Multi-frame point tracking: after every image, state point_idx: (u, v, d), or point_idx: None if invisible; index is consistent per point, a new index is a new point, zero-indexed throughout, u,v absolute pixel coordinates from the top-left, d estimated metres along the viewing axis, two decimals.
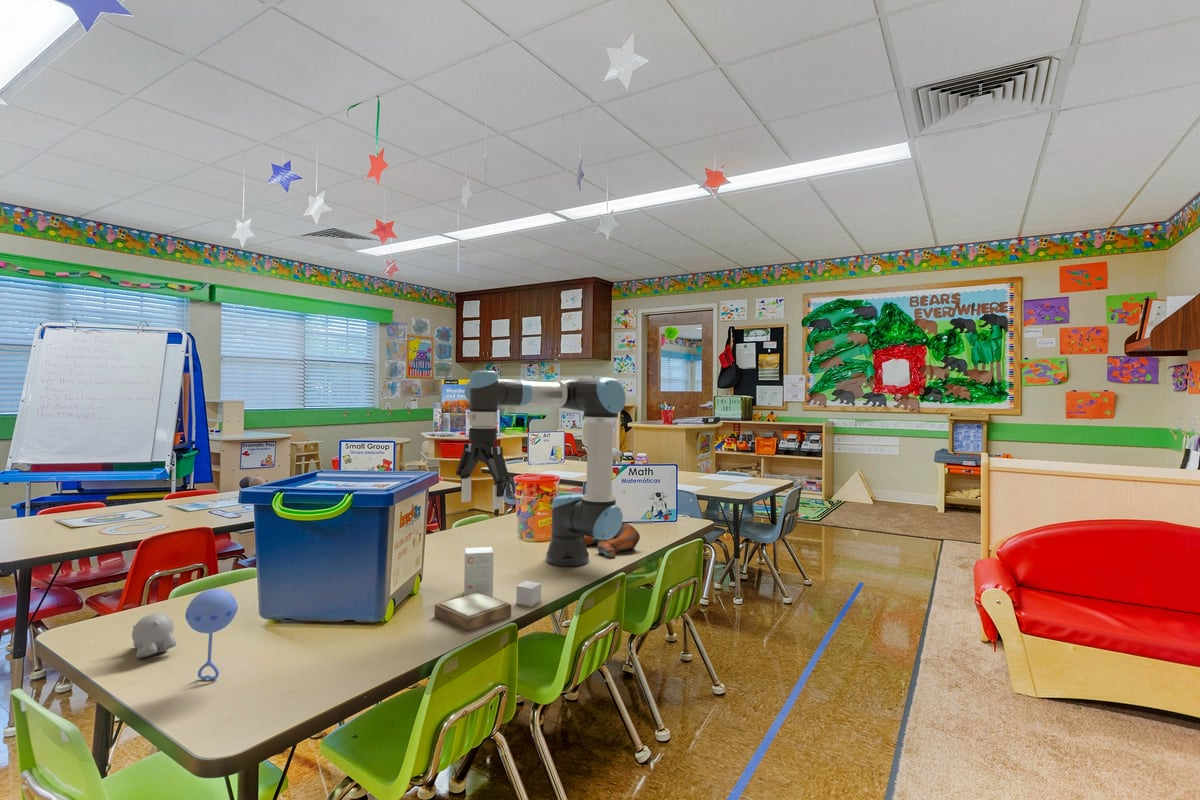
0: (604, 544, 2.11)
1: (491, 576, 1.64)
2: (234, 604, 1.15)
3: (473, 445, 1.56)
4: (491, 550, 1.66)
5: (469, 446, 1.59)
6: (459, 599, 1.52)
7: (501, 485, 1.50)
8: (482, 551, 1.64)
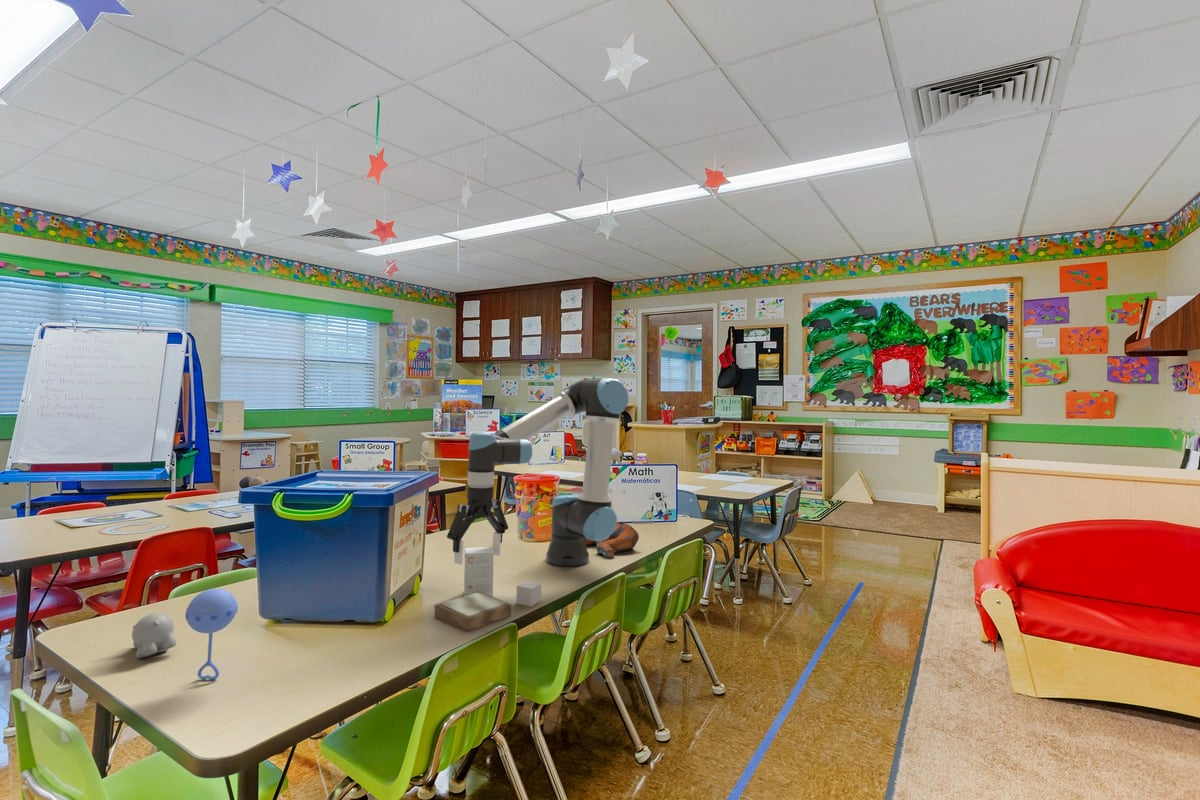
0: (603, 544, 2.11)
1: (491, 576, 1.64)
2: (234, 604, 1.15)
3: None
4: (491, 550, 1.66)
5: None
6: (459, 599, 1.52)
7: (454, 541, 1.59)
8: (482, 551, 1.64)
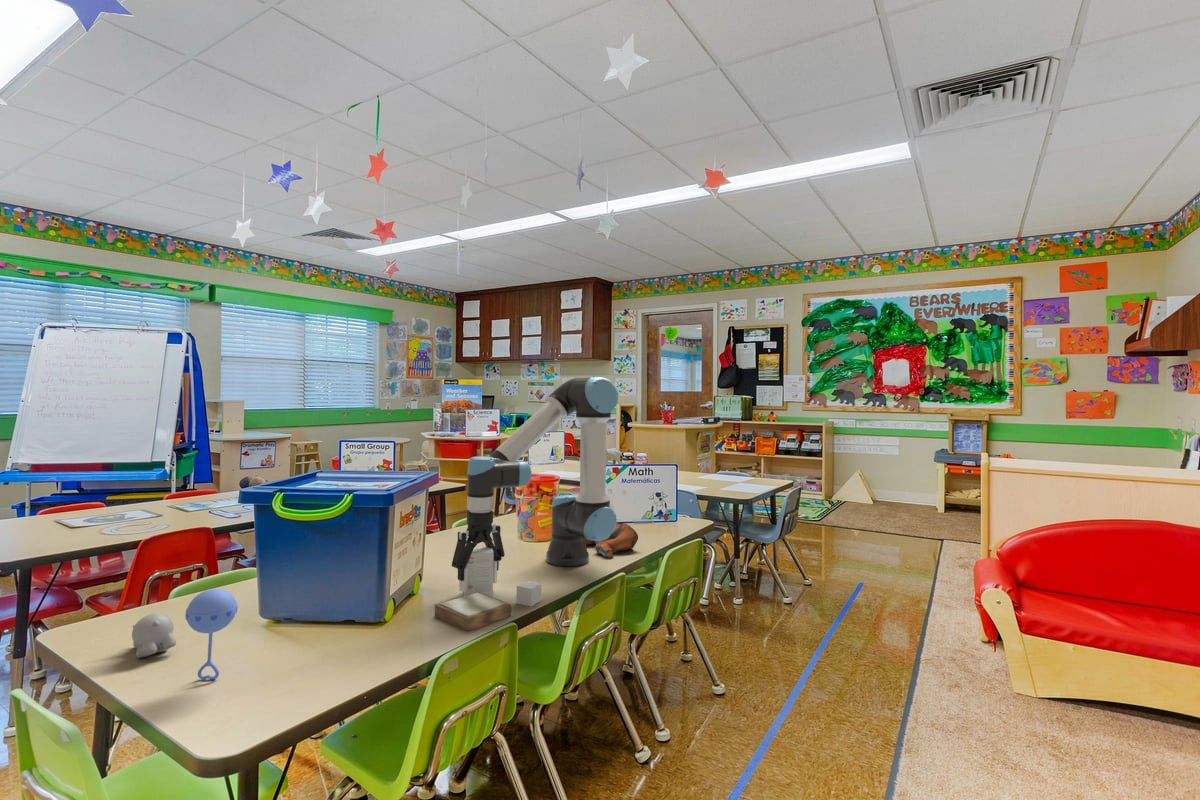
0: (602, 544, 2.11)
1: (491, 576, 1.64)
2: (234, 604, 1.15)
3: None
4: (491, 550, 1.66)
5: None
6: (459, 599, 1.52)
7: (458, 569, 1.61)
8: (482, 551, 1.64)
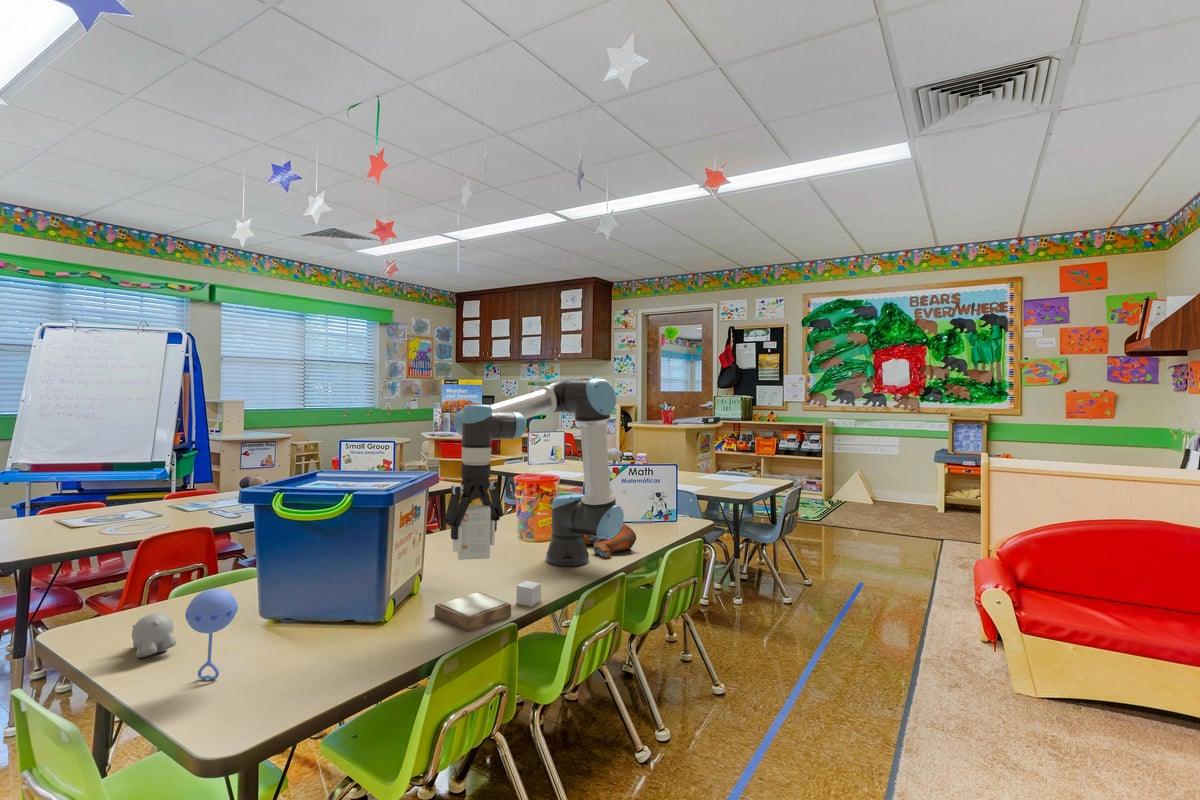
0: (600, 544, 2.10)
1: (488, 535, 1.48)
2: (234, 604, 1.15)
3: None
4: (488, 507, 1.50)
5: None
6: (459, 599, 1.52)
7: (452, 527, 1.45)
8: (478, 508, 1.48)
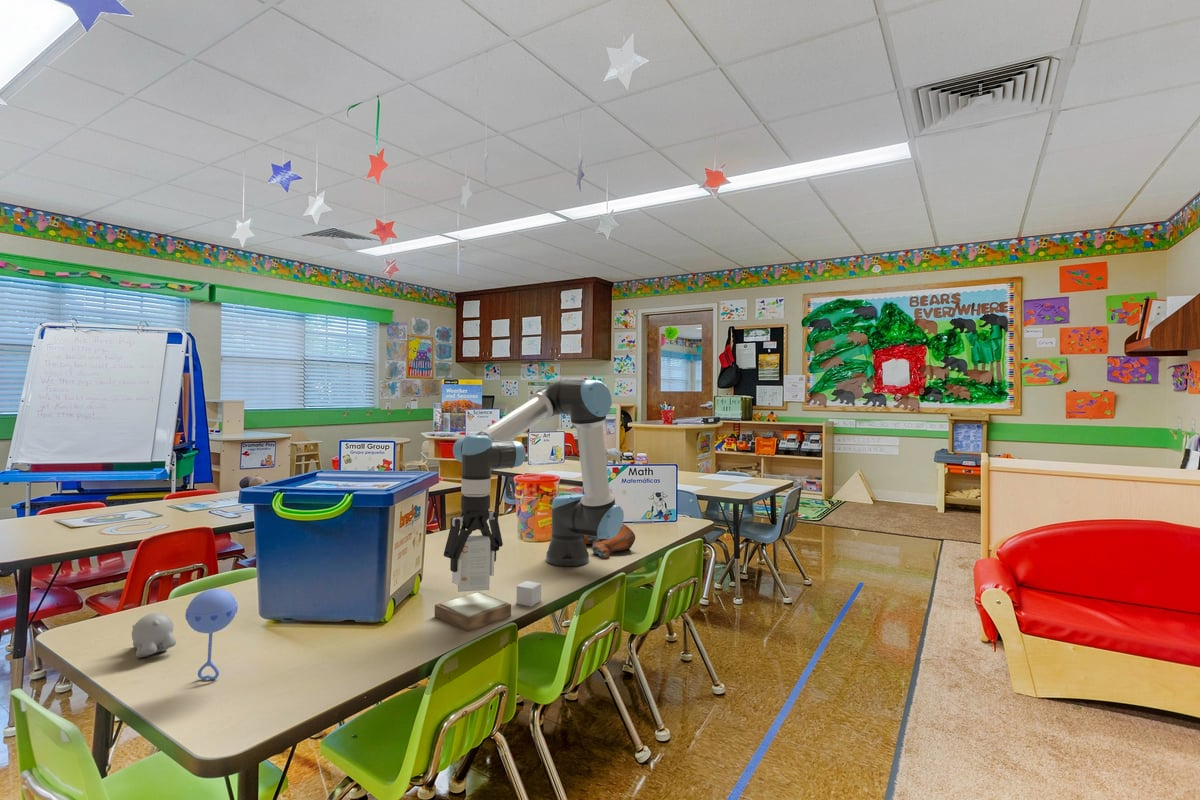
0: (599, 544, 2.10)
1: (488, 567, 1.48)
2: (234, 604, 1.15)
3: None
4: (488, 538, 1.49)
5: None
6: (459, 599, 1.52)
7: (451, 559, 1.44)
8: (478, 539, 1.48)
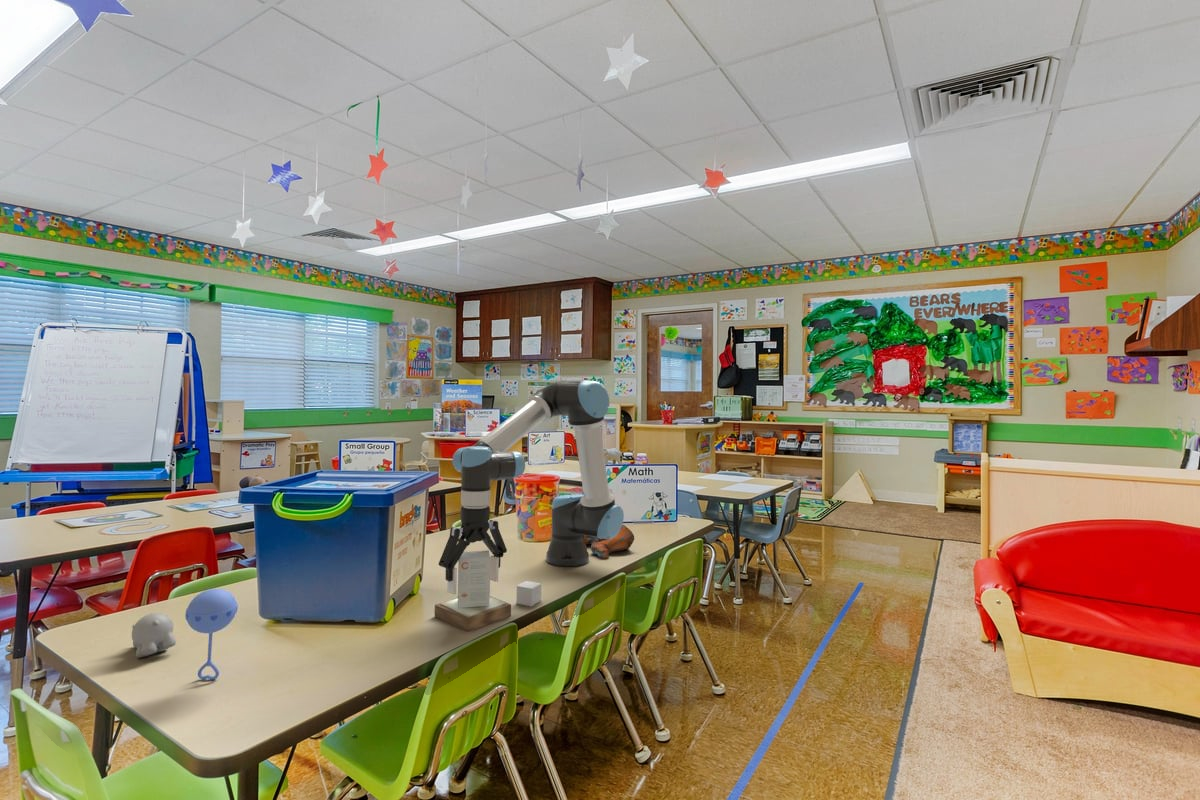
0: (598, 545, 2.10)
1: (488, 583, 1.48)
2: (234, 604, 1.15)
3: None
4: (488, 554, 1.49)
5: None
6: None
7: (446, 569, 1.43)
8: (478, 555, 1.48)
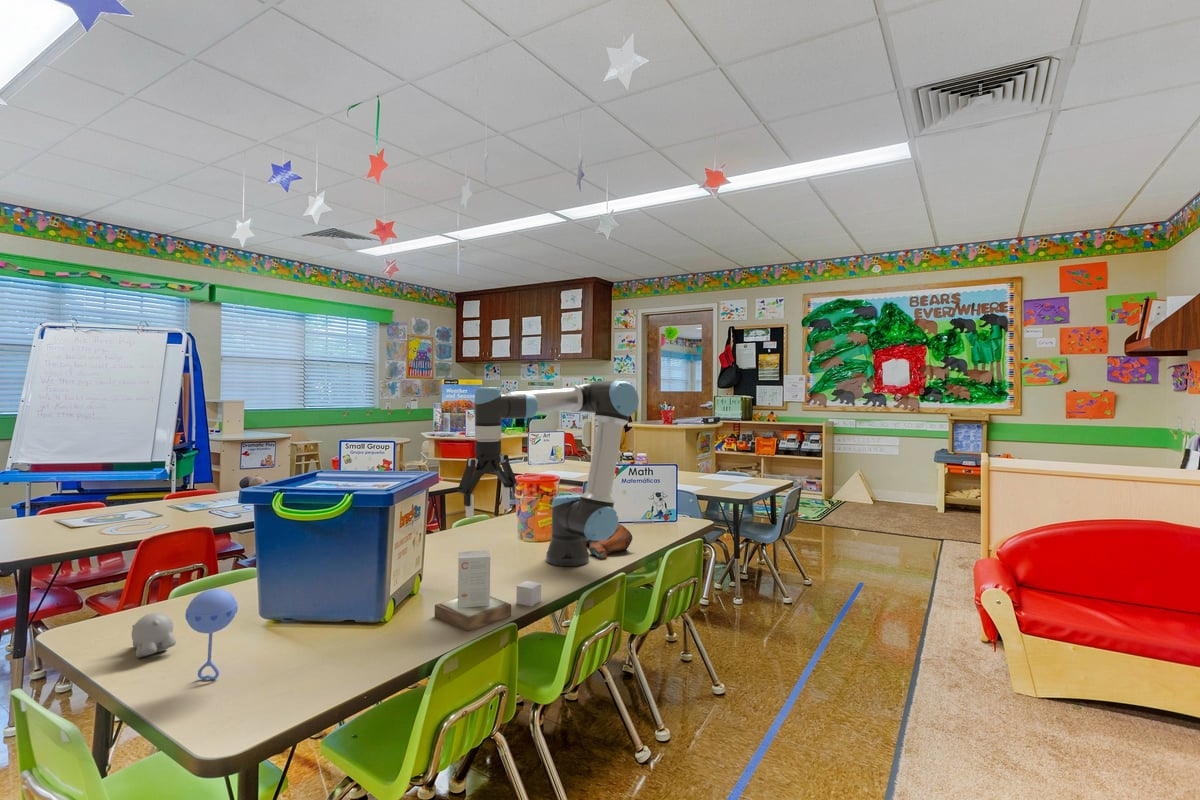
0: (596, 545, 2.10)
1: (488, 583, 1.48)
2: (234, 604, 1.15)
3: None
4: (488, 554, 1.49)
5: None
6: None
7: (464, 495, 1.59)
8: (478, 555, 1.48)
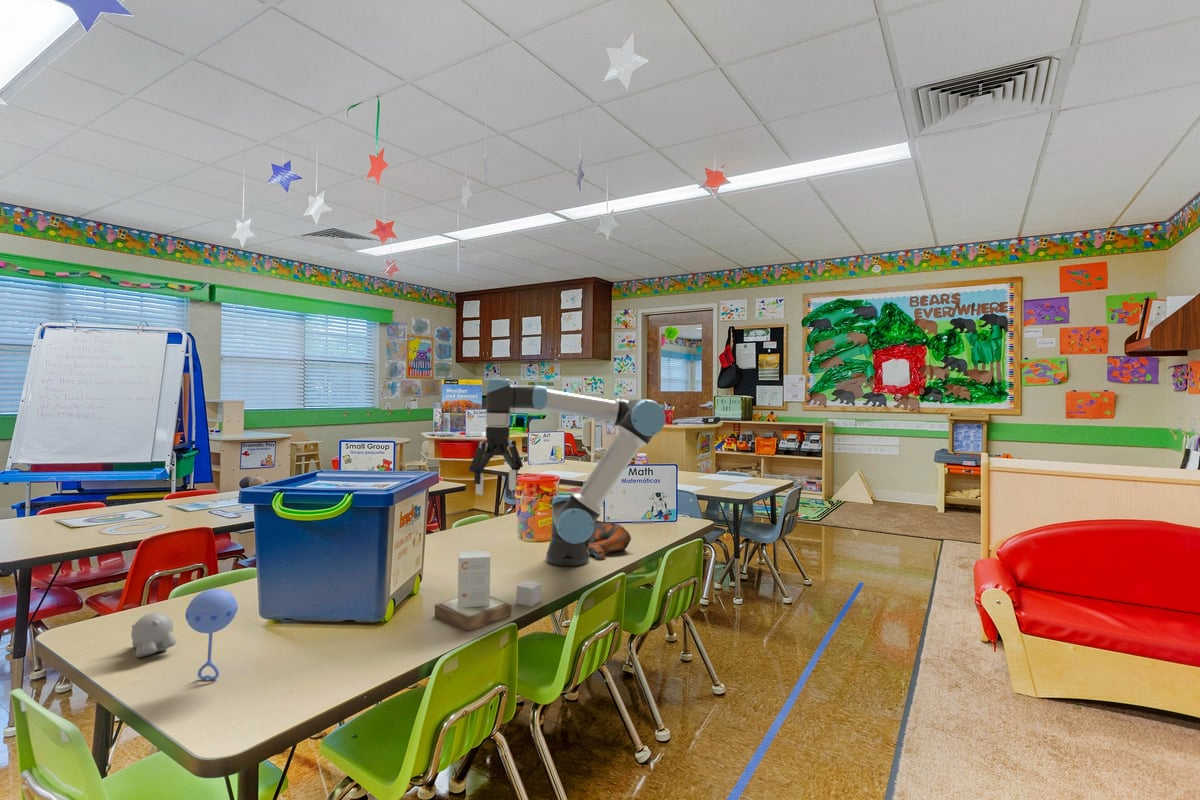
0: (594, 545, 2.09)
1: (488, 583, 1.48)
2: (234, 604, 1.15)
3: None
4: (488, 554, 1.49)
5: None
6: None
7: (475, 474, 1.78)
8: (478, 555, 1.48)
